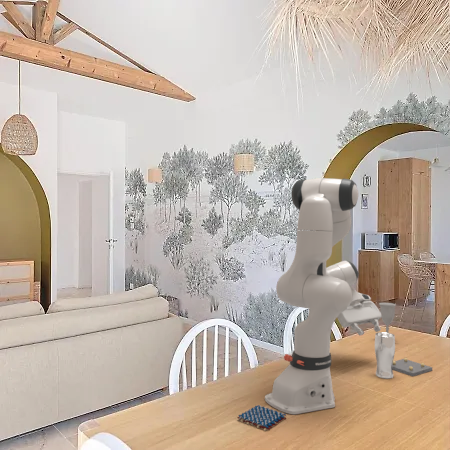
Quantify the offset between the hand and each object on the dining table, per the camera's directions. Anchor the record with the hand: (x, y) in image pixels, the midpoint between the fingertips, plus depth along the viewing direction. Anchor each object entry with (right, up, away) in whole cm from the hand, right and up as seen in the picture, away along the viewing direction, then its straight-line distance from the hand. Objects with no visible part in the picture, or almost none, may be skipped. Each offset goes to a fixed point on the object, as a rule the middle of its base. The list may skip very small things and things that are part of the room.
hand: (370, 332), depth 164 cm
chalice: (+20, -14, +36) cm, 43 cm away
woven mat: (-44, -15, -40) cm, 62 cm away
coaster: (+15, -14, +2) cm, 21 cm away
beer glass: (+3, -15, -5) cm, 16 cm away
